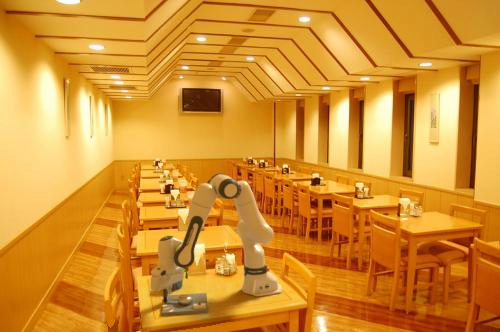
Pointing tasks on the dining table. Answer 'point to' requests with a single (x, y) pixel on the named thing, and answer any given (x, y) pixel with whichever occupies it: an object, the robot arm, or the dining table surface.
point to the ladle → (182, 299)
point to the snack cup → (179, 284)
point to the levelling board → (196, 307)
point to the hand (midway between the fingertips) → (168, 293)
